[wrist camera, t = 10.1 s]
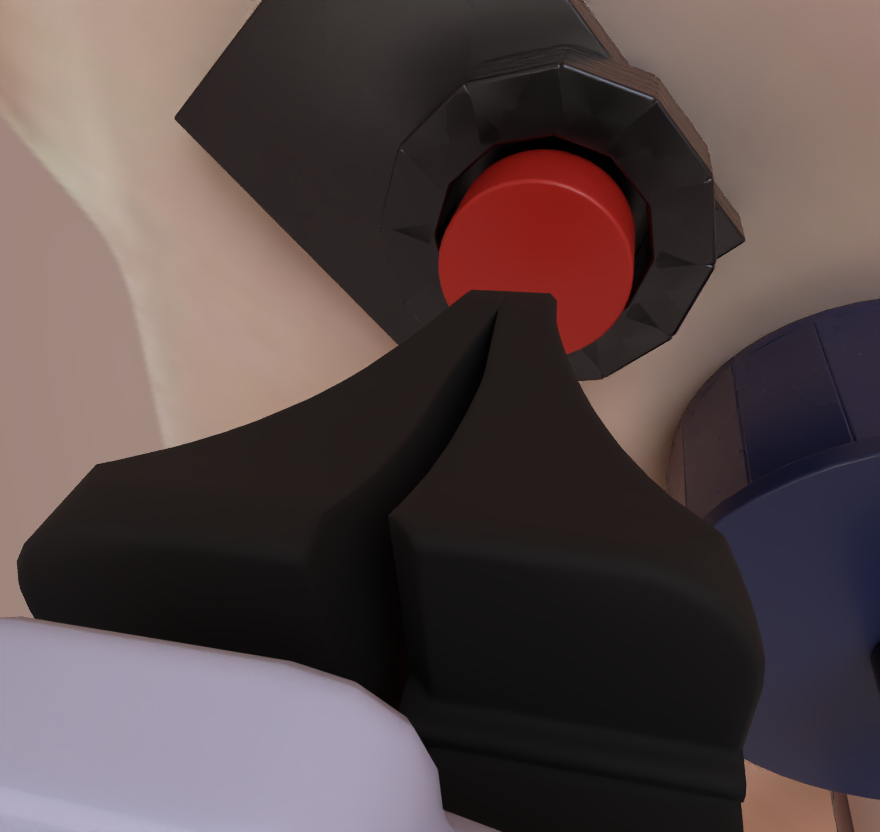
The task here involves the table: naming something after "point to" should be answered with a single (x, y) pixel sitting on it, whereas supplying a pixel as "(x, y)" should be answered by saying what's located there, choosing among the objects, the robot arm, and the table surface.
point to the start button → (545, 240)
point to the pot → (779, 405)
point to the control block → (454, 145)
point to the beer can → (855, 813)
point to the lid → (814, 614)
